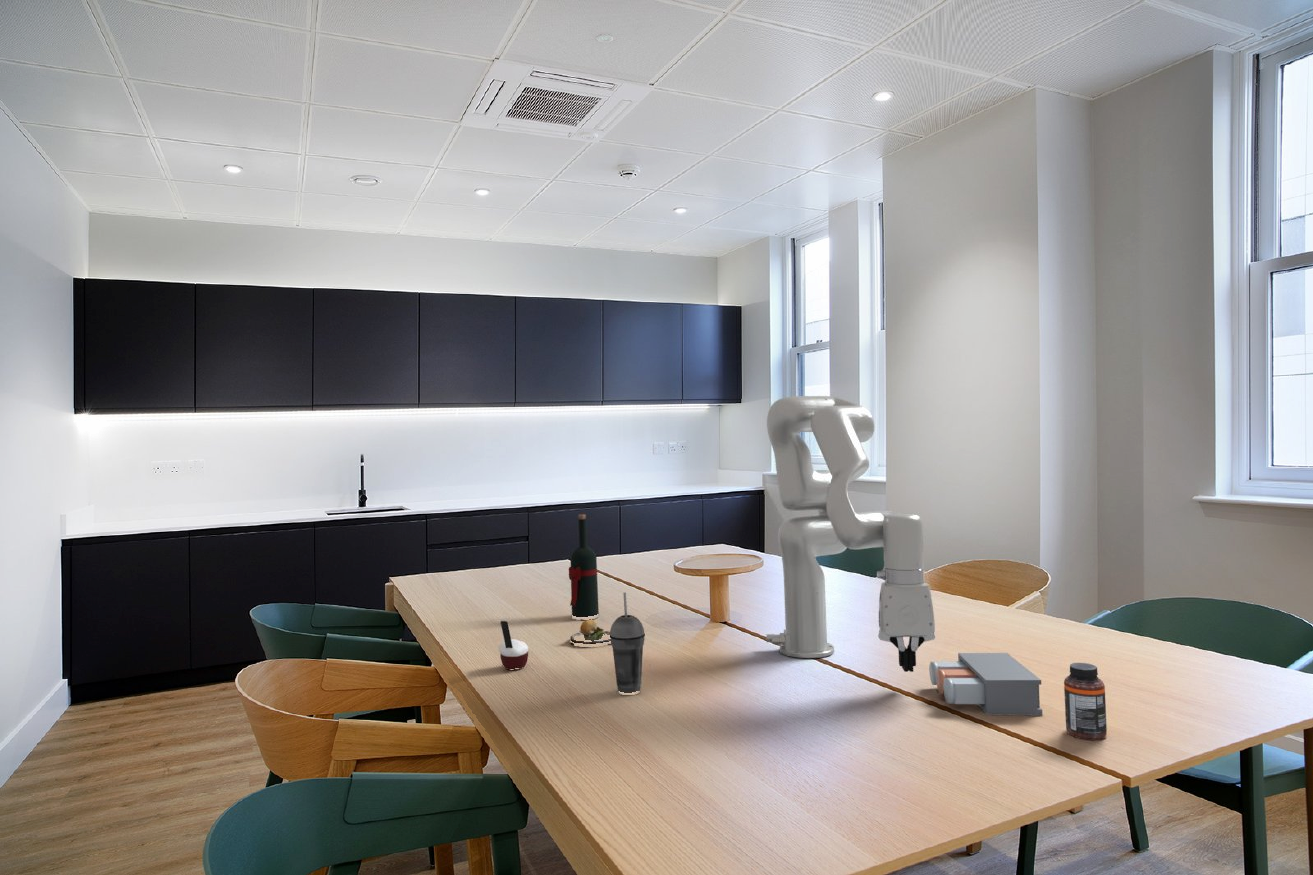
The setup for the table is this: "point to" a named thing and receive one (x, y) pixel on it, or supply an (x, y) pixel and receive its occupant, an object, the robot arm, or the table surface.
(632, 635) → the beverage cup
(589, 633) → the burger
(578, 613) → the wine bottle
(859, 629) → the table surface
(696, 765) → the table surface
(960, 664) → the plug far
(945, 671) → the plug terracotta
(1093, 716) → the supplement bottle
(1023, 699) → the socket block
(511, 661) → the cocoa
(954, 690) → the plug near
